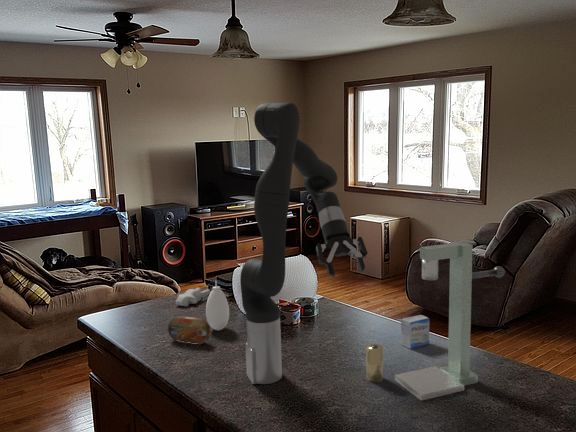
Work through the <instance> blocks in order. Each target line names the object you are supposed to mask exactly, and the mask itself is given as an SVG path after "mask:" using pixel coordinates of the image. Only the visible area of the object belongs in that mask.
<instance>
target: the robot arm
mask: <svg viewBox="0 0 576 432" xmlns="http://www.w3.org/2000/svg"><path fill="white" fill-rule="evenodd" d="M300 117H301V116H300V111H299V107H298V106H297V105H296V104H295V103H293V102H287V101H286V102H282V101H281V102H265V103H261V104H260V105H258V107H257V108H256V110H255V112H254V116H253V119H254V120H253V122H254V127H255V128H256V131H257V132H258V133H259V134H260V135H261V136H262V137H263V138H264V139H265V140H266V141H268V142H269V143H270V144H271V145H273V146H274V147H275V151H274V155H273V156H272V158H271V161H270V162H269V163H268V164H267V167H266V168H265V170H264V171H263V173H262V174H261V175H260V177H259V179H258V181H257V183H256V185H255V192H254V193H255V194H254V205H253V211H254V217H255V219H256V223H257V226H258V229H259V232H260V235H261V239H262V258H257V257H256V258H255V257H254V258H250V259H248V260H246V261H245V263H244V265H242V269H241V271H240V280H239V281H240V290H241V291H240V292H241V302H242V303H241V304H242V307H243V310H244V312H245V316H246V317H245V318H246V319H245V321H246V339H247V340H246V341H247V342H245V347H244V349H245V363H246V364H245V365H246V367H245V368H246V369H245V370H246V376H247V378H248V379H249V381H250V382H251V384H252V385H256V384H259V385H269V384H274V383H276V382H278V381H280V380H281V379H282V377H283V366H282V360H283V359H282V339H281V338H282V337H281V335H282V333H281V313H280V312H281V309H280V306H279V305H278V304H277V303H276V302H275V301H274V300H273V299H272V297H276V296H277V295H278V294H280V292H281V290H282V289H283V287H284V284H285V283H284V282H285V279H286V240H287V239H286V238H287V237H286V236H287V222H288V213H289V207H290V198H291V197H290V196H291V183H292V172H293V165H294V167H295V168H296V169H297V170H298V172H299V173H300V174H301V175H302V176H303V180H302V181H303V187H305V189H306V190H307V192H308V193H309V195H310V196H311V198H312V200H313V202H314V204H315V207H316V208H315V209H316V211H317V214H318V215H317V216H318V220H319V223H320V225H319V226H320V229H321V231H322V236H323V239H324V242H325V243H323V244H322V243H320V242H318V243H317V244H316V247H315V252H316V255H317V261H318V264H319V265H320V266H325V267H326V270H327V273H328V276H330V277H331V278H335V276H336V273H335V270H334V265H333V262H332V260H333V258H334V257H335V258H339V257H342V256H343V257H345V256H350V257H351V258H353V259H355V260H356V265H357V267H358V271H359V273H360V274H361V273H364V271H365V269H366V265H365V262H364V259H366V258H367V255H368V249H367V248H366V244H365V242H364V240H363V237H362V236H358V237H357V238H355V239H354V238H352V237H351V234H350V232H349V228H348V225H347V224H348V223H347V221H346V219H345V215H344V212H343V210H342V208H341V204H340V202H339V201H340V200H339V199H338V196H337V194H336V193H335V192H333V191H326V190H329V189H331V188H333V187H335V186H336V185H337V183H338V174H337V172H336V170H335V169H334V168H333V167H332V166H331V165H330V164H328V163H326V162H325V161H323V160H322V159H320V158H319V156H318V155H317V154H316V152H315V151H314V150H313V149H312V148H311V147H310V145H308V144H307V143H305V142H304V141H302V140H301V139H300V138H298V136H299V129H300V124H301V123H300V121H301V120H300ZM324 191H325V192H324ZM353 245H355V246H356V247H357V248H358V250H359V251H358V250H357V248H356V247H355V246H353ZM325 250H327V251H328V252H329V254H328V257H327V258H324V257H325V256H324V251H325Z"/></svg>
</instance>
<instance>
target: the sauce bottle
mask: <svg viewBox="0 0 576 432" xmlns="http://www.w3.org/2000/svg"><path fill="white" fill-rule="evenodd" d="M214 281H215V286H212V290H210V292H211V293H209V295H208V297H207V301H206V306H205V316H206V322H207V323H208V324H209V326H210V328H212V329H213V330H215V331H221V330H223V329H224V328H225V327H226V326H227V324H228V322H229V320H230V319H229V318H230V307H229V302H228V299H227V297H226V294H225V293H224V291H222V289H221V286H218V284H217V283H218V282H217V280H214Z"/></svg>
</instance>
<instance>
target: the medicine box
mask: <svg viewBox="0 0 576 432" xmlns="http://www.w3.org/2000/svg"><path fill="white" fill-rule="evenodd" d="M429 344H430V318H429V317H427V316H425V315H424V314H423V315H422V314H417V315H413V316H409V317H404V318H401V319H400V345H401V346H403V347H404V348H406V349H409V350H413V349H417V348H420V347H424V346H427V345H429Z"/></svg>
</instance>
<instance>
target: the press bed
mask: <svg viewBox="0 0 576 432" xmlns="http://www.w3.org/2000/svg"><path fill="white" fill-rule="evenodd" d="M473 248H474V247H473V244H471V243H468V242H463V241H453V242H452V241H451V242H450V243H446V244H445V243H444V244H442V243H441V244H433V245H427V246H420V247H419V259H420V260H421V279H422V280H424V281H425V280H426V281H437V280H438V279H439V260H445V259H447V260H448V259H449V285H448V286H449V287H448V288H449V296H448V301H449V302H448V348H447V349H448V350H447V353H448V354H447V355H448V356H447V358H448V359H447V361H448V362H447V365H445V366H440V367H438V366H436V365H434V366H431V367H425V368H420V369H416V370H412V371H406V372H402V373H397V374H395V375H394V381H396V382H397V383H398V384H399V385H401V386H402V388H404V389H405V390H407V391H408V392H409V393H411V394H412V395H414V396H415V397H416V398H417V399H418V400H420V401H425V400H426V401H427V400H431V399H434V398H439V397H442V396H448V395H451V394H454V393H455V394H456V393H458V392H462V391H463V392H464V391H465V386H469V385H473V384H477V383H478V382H479V375H478V374H476V373H475V372H473V371H471V370H470V367H471V365H470V363H471V360H470V359H471V327H472V324H471V323H472V322H471V321H472V283H473V282H472V281H473V280H474V279H481V278H486V277H494V276H495V277H496V278H502V277H503V276H505V274H506V271H505V268H503V267H502V266H499V265H498V266H495V267H493V268H492V269H488V270H483V271H476V272H475V271H474V272H473Z"/></svg>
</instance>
